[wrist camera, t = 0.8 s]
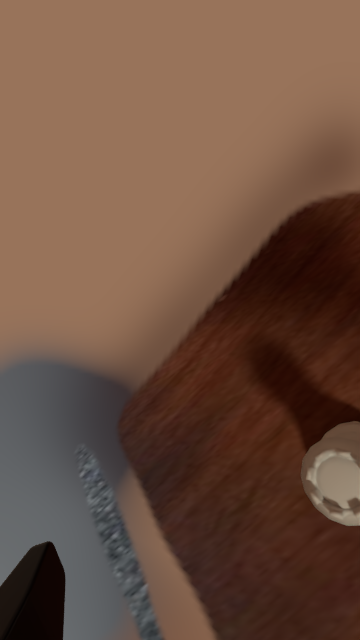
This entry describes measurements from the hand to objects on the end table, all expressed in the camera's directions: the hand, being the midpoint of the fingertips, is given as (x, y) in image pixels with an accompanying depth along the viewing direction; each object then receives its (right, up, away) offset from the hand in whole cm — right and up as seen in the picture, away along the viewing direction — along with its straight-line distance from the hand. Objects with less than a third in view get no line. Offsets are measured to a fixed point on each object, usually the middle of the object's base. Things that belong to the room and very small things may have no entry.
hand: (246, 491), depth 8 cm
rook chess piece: (+9, -4, +12) cm, 15 cm away
